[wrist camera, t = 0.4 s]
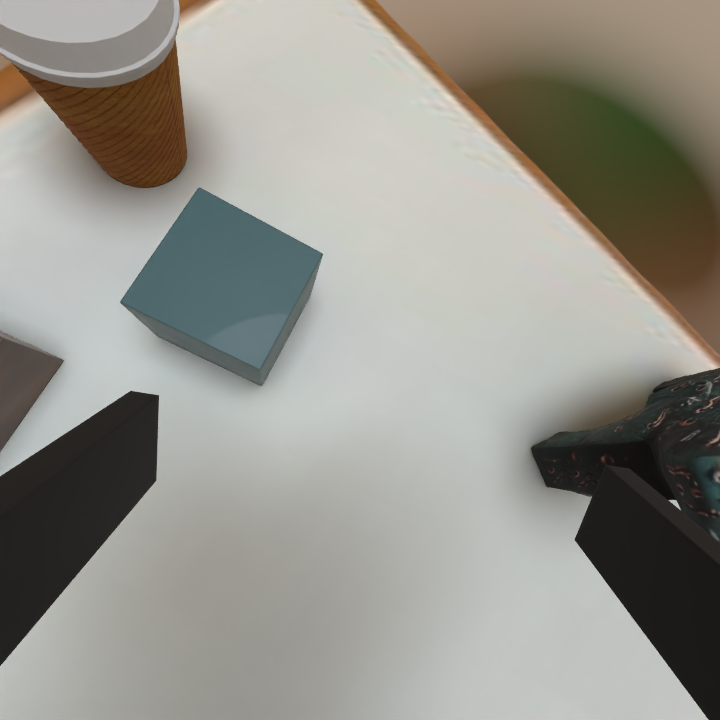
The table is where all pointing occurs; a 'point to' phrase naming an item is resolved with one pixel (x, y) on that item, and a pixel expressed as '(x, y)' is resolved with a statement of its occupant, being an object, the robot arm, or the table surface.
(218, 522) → the table surface
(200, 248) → the slate-teal block
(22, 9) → the disposable coffee cup
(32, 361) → the mauve-gray square block
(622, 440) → the ceramic cat
